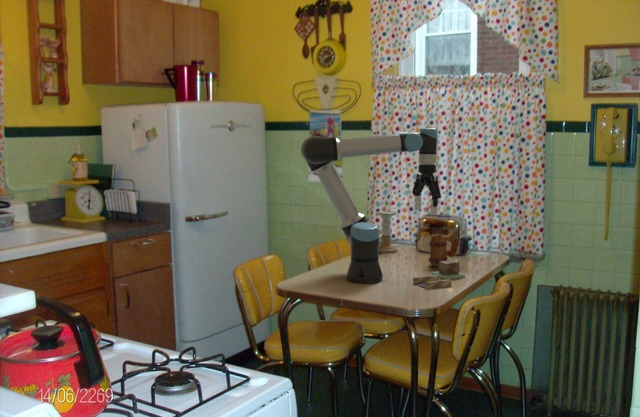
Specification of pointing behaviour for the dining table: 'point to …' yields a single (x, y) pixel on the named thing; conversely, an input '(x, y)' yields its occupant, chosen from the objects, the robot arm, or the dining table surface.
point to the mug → (442, 248)
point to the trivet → (448, 275)
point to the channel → (431, 282)
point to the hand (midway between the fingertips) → (425, 212)
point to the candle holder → (386, 232)
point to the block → (449, 267)
